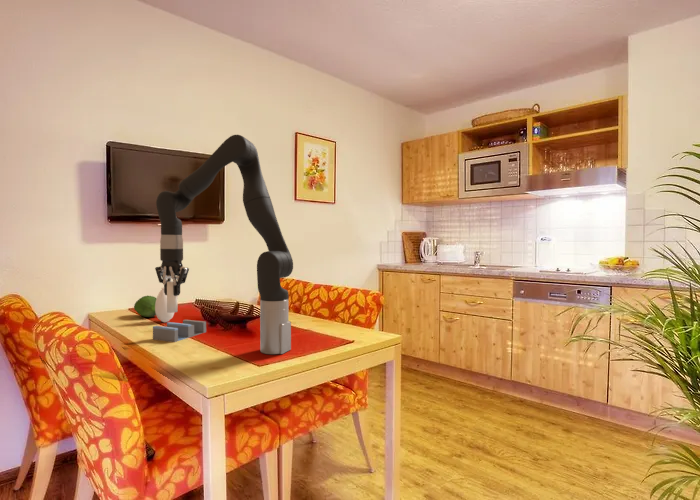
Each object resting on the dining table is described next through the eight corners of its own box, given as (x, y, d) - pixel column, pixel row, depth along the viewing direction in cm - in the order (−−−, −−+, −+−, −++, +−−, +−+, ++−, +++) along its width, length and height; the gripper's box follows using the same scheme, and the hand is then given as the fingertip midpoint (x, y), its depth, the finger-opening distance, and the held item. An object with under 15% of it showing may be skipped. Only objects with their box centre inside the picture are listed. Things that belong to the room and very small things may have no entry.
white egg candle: (178, 321, 177) (177, 281, 176) (160, 324, 171) (159, 282, 170) (169, 319, 182) (169, 280, 181) (152, 322, 176) (151, 281, 175)
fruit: (128, 316, 188) (128, 295, 188) (149, 313, 196) (149, 292, 196) (144, 320, 179) (144, 298, 179) (165, 316, 187) (165, 295, 187)
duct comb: (206, 334, 154) (206, 320, 154) (174, 344, 139) (174, 328, 139) (185, 332, 158) (185, 318, 158) (152, 342, 143) (152, 326, 143)
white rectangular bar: (179, 311, 145) (179, 281, 145) (172, 313, 142) (172, 282, 142) (172, 310, 147) (172, 280, 146) (164, 312, 143) (164, 281, 143)
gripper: (194, 247, 145) (195, 294, 145) (164, 247, 150) (165, 292, 150) (179, 248, 138) (179, 297, 138) (148, 247, 143) (148, 295, 143)
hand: (172, 294), depth 144 cm, fingers closed on white rectangular bar, 3 cm apart
